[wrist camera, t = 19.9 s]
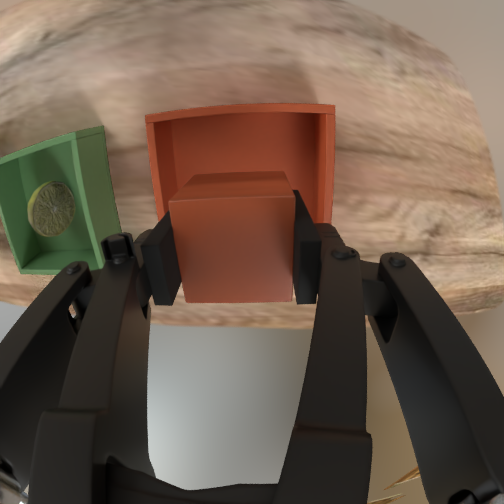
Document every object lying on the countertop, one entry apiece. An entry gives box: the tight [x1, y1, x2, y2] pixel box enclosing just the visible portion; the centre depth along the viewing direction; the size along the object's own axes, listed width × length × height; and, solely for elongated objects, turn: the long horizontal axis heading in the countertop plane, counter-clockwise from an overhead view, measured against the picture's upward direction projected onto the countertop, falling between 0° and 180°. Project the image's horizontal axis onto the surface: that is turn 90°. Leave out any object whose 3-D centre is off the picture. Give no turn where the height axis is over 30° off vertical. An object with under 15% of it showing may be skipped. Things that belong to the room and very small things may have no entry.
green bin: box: [0, 126, 122, 275], centre depth 21 cm, size 12×12×4 cm
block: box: [168, 171, 295, 303], centre depth 14 cm, size 5×5×5 cm
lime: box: [27, 181, 75, 237], centre depth 21 cm, size 4×5×5 cm
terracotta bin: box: [145, 103, 335, 225], centre depth 21 cm, size 12×12×4 cm
